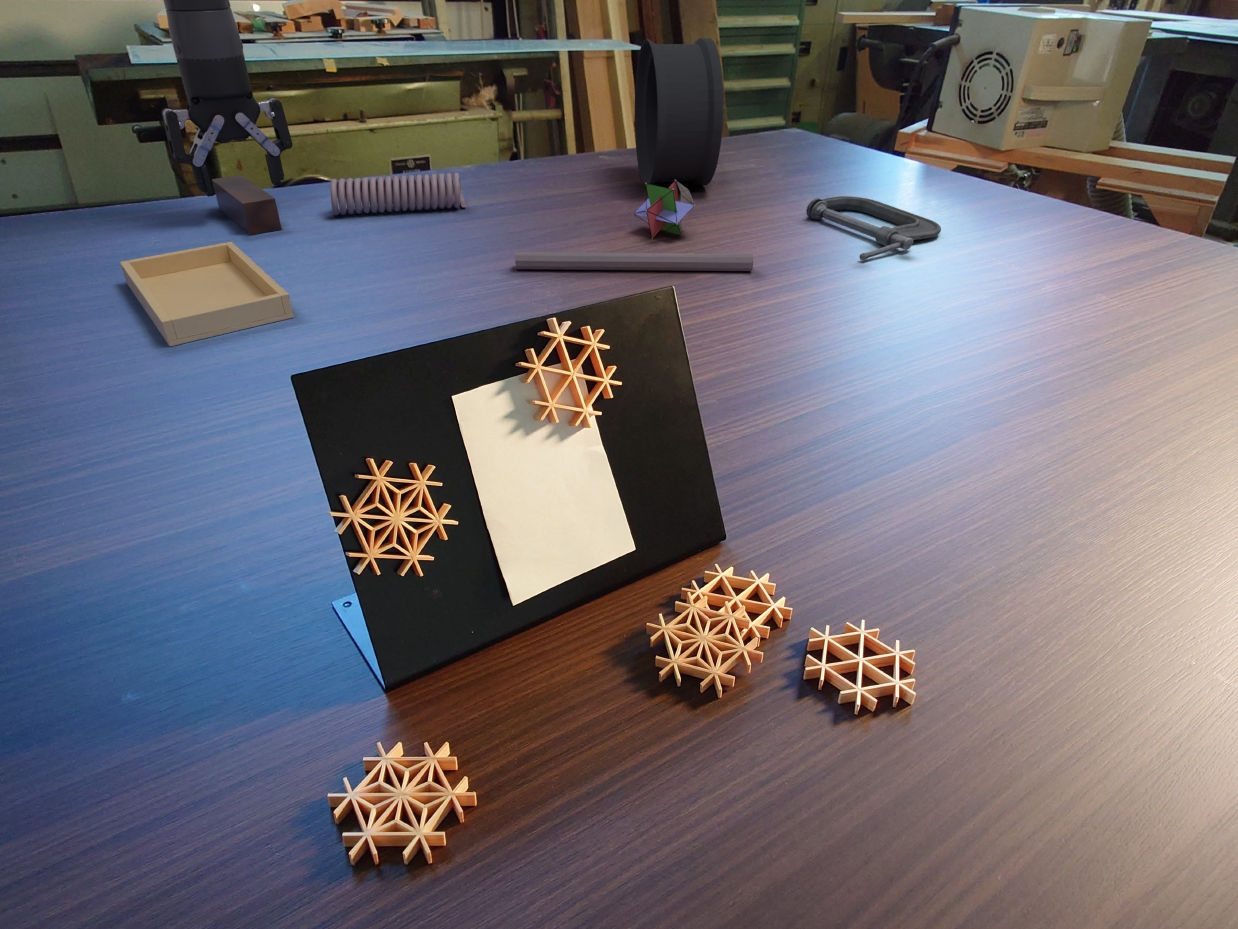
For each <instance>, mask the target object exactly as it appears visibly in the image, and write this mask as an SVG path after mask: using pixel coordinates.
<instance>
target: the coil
mask: <svg viewBox="0 0 1238 929" xmlns="http://www.w3.org/2000/svg"><path fill="white" fill-rule="evenodd" d="M329 189H330V190H329V191H330V204H331V211H332V214H333V215H334V216H338V215H339V213H340V214H341V215H342V216H345V215H346V214H347V213H348V214H349V215H354V214H355V213H356V215H357V214H358V215H361V214H362V212H364V213H365V214H369V213H370V211H371V213H373V214H376V213H377V212H378V211H379V213H385V211H386V212H388V213H391V212H392V211H393V210H394V211H395V212H397V213H398V212H400V210H401V211H403V212H407V210H408V209H409V211H411V212H414V211H415V209H416V210H417V211H422V210H423V209H424V210H426V211H428V210H429V209H431V210H437V208H439V209H441V210H443V209H445V207H446V209H449V210H450V209H452V207H453V208H454V209H458V208H460V207H461V208H463V209H464V208H466V207H467V205H468V204H467V202H466V201H465V197H464V194H463V188H462V182H461V176H460V173H458V172H454V173H453V174H452V173H451V172H447V173H446V175H445V174H444V173H443V172H441V173H439V174H438V175H437V173H432V174H431V175H429V174H428V173H425V174H424V175H423V176H422V175H421V174H420V173H419V174H417V175H416V176H414V175H413V174H410V175H408V177H407V175H406V174H403V175H401V177H399V175H394V176H393V178H392V176H390V175H387V176H386V177H385V178H384V176H381V175H380V176H379V177H378V178H376V177H375V176H371V177H370V179H369V178H368V177H367V176H364V177H363V178H360V177H355V178H354V179H353V178H352V177H348V178H347V179H345V178H339V180H338V179H337V178H332V179H331V181H330V187H329Z"/></svg>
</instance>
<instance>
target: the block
mask: <svg viewBox="0 0 1238 929" xmlns="http://www.w3.org/2000/svg"><path fill="white" fill-rule="evenodd" d="M211 184H212V187H213V191H214V195H215V197H216V201H217V205H218V209H219V210H220V211H221V212H222V213H223V214H225V215H226V216H227V217H228V218H229V219H230V220H232V221H233V222H234V223H235V224H237V226H239V227H240V229H242V230H243V231H245V232H246V233H247V235H249V236H254V235H260V234H264V233H271V232H276V231H277V232H278V231H282V230H283V228H282V224H281V220H280V219H281V218H280V215H279V210H278V207H277V206H278V205H277V201H276V197H275V196H272V195H271V194H269V193H268V192H266V191H265V190H264V189H263V188H261V187H260V186H258V185H257V184H255V183H254V182H253V181H251V180H250V179H249V178H247V177H245V176H244V175H242V174H239V175H233V176H232V175H231V176H226V177H217V178H212V179H211Z"/></svg>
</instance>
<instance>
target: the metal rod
mask: <svg viewBox="0 0 1238 929" xmlns="http://www.w3.org/2000/svg"><path fill="white" fill-rule="evenodd" d="M514 262H515V269H516V270H571V271H572V270H573V271H575V270H578V271H579V270H580V271H583V270H584V271H587V270H588V271H592V270H593V271H691V272H693V271H695V272H696V271H700V272H702V271H703V272H704V271H707V272H710V271H711V272H713V271H714V272H751V271H753V269H754V254H753V253H709V252H708V253H707V252H706V253H705V252H704V253H703V252H702V253H697V252H695V253H694V252H691V253H690V252H689V253H688V252H687V253H686V252H684V253H683V252H589V251H588V252H587V251H586V252H585V251H584V252H583V251H581V252H576V251H575V252H573V251H572V252H571V251H568V252H567V251H515V255H514Z"/></svg>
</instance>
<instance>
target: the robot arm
mask: <svg viewBox="0 0 1238 929" xmlns="http://www.w3.org/2000/svg"><path fill="white" fill-rule="evenodd" d="M162 2H163V4H164V9H165V13H166V18H167V19H166V20H167V26H168V32H169V37H170V41H171V45H172V48H173V52H174V55H175V59H176V62H177V67H178V70H179V74H180V77H181V78H180V79H181V81H182V85H183V89H184V93H185V97H186V100H187V105H186V109H170V108H168V107H166V108H162V110H161V116H162V121H163V125H164V130H165V134H166V139H167V143H168V148H169V152H170V156H171V158H172V159H173V160H175V161H176V162H177V163H179V164H182V165H183V164H185V165H189V166H190V167H191V170H192V173H193V174H192V175H193V178H194V180H195V184H196V187H197V188H198V190H199V191H200V192H201V193H202V194H204V195H205V196H207V197H208V198H209V197H215V191H214V188H213V184H212V180H211V177H210V174H209V170H208V167H207V166H206V165H205V164H204V163H205V161H206V159H207V156H208V154H209V152H211V150H212V148H213V146H214V144H215V142H216V143H218V144H222V145H223V144H228V143H230V142H232V141H236V142H243V141H244V142H245V141H247V140H248V139H249V138H251V139H252V140H253V141H254V142H256V143H257V144H258V145H259V146H260V147H261V148H262V149H263V150H264V151H265V152H266V153H265V154H264V157H265V162H266V167H267V170H268V171H267V172H268V174H269V180H270V182H271V184H272V185H274V186H275V187H277V186H282V181H284V179H285V173H284V168H283V163H282V159H281V154H282V153H283V152H285V151H286V150H290V149H292V147H293V141H292V137H291V133H290V129H289V125H288V122H287V118H286V114H285V110H284V107H283V102H281V100H278V99H277V98H274V97H271V96H270V97H268V98H267V99H266V100H262V101H257V100H256V99H255V96H254V92H253V89H252V84H251V80H250V75H249V71H248V66H247V63H246V58H245V54H244V45H243V41H242V40H241V35H240V32H239V29H238V25H237V22H236V20H235V16H234V14H233V11H232V8H231V6H232V5H231V1H230V0H162ZM261 112H263V113H264V116H265V117H267V118H268V119H270V120H271V124H272V128H273V132H274V135H275V140H271V139H270V138H269V137H268V136H267V135H266V134H265V133H264V132H263V131H262V130H261V129H260V128H259V127H257V125H256V124H257V121H258V120H259V117H260V115H261ZM187 120H189V121H190V122H192V123H193V124H194V125H195V126H196V127H197V128H198V130H197V132H196V134H195V136H194V139H193V144H192V146H191V149H190V150H189V152H188V151H186V149H185V146H184V140H183V136H182V135H183V134H182V131H181V130H183V129H185V127H186V121H187Z"/></svg>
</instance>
